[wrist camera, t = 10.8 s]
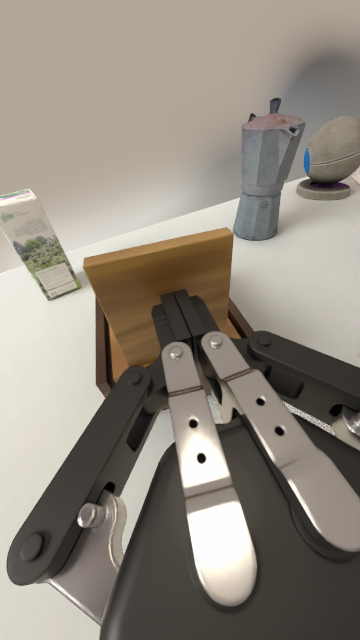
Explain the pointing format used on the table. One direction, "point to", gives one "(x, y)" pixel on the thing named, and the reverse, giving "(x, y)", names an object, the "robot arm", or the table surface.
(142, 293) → the lid
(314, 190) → the webcam
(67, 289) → the syrup box
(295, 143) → the moka pot
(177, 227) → the table surface
